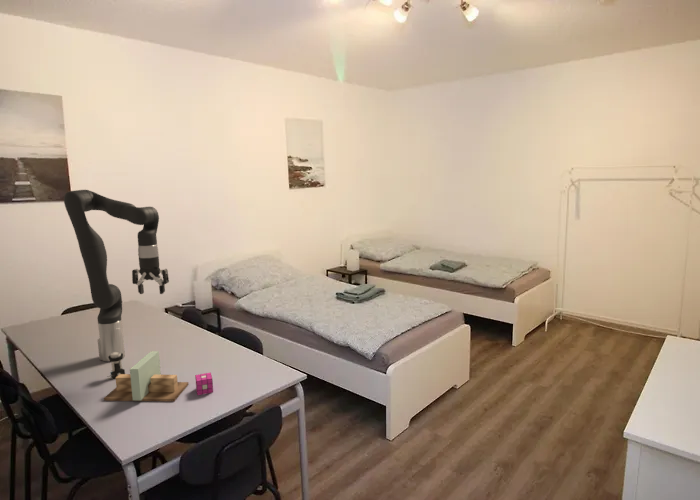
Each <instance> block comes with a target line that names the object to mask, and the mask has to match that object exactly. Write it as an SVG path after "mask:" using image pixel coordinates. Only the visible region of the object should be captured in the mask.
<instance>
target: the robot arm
mask: <svg viewBox="0 0 700 500" xmlns="http://www.w3.org/2000/svg"><path fill="white" fill-rule="evenodd" d="M63 203H64V207H65V210H66V212H67V214H68V217H69V220H70V222H71V225H72V227H73V229H74V233H75V236H76V240H77V242H78V248H79V251H80V254H81V258H82V261H83V264H84V268H85V272H86V275H87V278H88V282H89V287H90V288H89V289H90V295H91V300H92V302H93V305H94V306H96V307H97V308H99V313H98V315H97V317H96V318H97V326H98V337H99V338H98V339H97V348H98V357H99V361H103V362H110V360H109V358H108V357H109V356H110V355H111V353H113V352H120V353H122V354H123V358H125V356H126V355H125V354H126V353H125V344H124V333H123V320H122V314H123V298H122V293H121V290H120V288H119V287H118V286H117V285H115V284H112V283H109V279H108V275H107V273H108V272H107V268H108V267H107V266H108V254H107V249H106V245H105V243H104V240H103V238H102V237H101V235H100V234H98V233H97V231H95V229H94V228H93V227H92V226H91V225H90V223H89V221H88V218H87V217H86V212H90V211H102V212H104V213H106V214H108V215H109V216H111V217H113V218H116V219H120V220H124V221H127V222H129V223H131V224H134V225H138V226H143V227H142V229H141V230H139V231H138V232H137V243H138V244H137V247H138V248H137V253H138V254H137V255H138V262H139V263H138V265H139V269H138V268H134V269H132V270H131V278H132V280H131V281H132V284H133V285H137V292H138V293H139V295H143V294H144V293H145V291H144V284H143V283H144V282H145V281H155V283H157V284H158V285H159V286H158V287H159V295H163V294H164V293H165V292H166V289H165V288H166V287H165V285H167V284H168V283H169V282H170V280H169V279H170V278H169V273H168V272H169V271H168V269H167V268H165V269H160V257H159V256H160V255H159V248H158V240H157V239H158V238H157V232H158V227H159V222H160V220H159V219H160V217H159V212H158V210H157V209H156V208H155V207H153V206H144V207H137V206H135V205H134V204H132V203H129V202H125V201H121V200H116V199H112V198H109V197H106V196H104V195H101V194H99V193H98V192H94V191H92V190H89V189H79V190H78V189H77V190H76V189H75V190H70V191H67V192H66V193H65V194H64V197H63ZM139 274H140V275H141V276H140V277H139ZM161 275H162V276H161Z"/></svg>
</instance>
